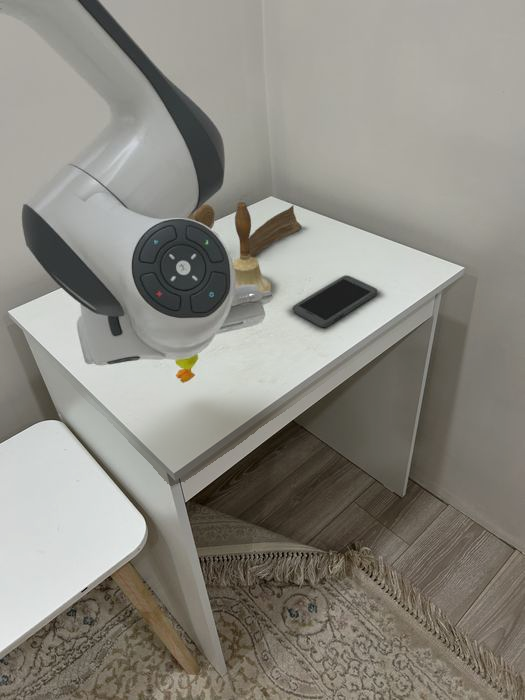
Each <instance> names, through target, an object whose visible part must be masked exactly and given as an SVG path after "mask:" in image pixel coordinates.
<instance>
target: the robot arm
mask: <svg viewBox="0 0 525 700" xmlns="http://www.w3.org/2000/svg"><path fill="white" fill-rule="evenodd" d="M0 14H4V15H6V16H9V17H11V18H14V19H15V20H18V21H20V22H22V23H24V24H25V25H26V26H28V27H29V28H30V29H32V30H33V31H34V32H35V33H36V34H37V35H38V36H39V37H40V38H41V39H42V40H43V41H44V42H45V43H46V44H47V45H48V46H49V47H50V48H51V49H52V50H54V52H55V53H56V54H58V56H59V57H60V58H61V59H62V60H63V61H65V63H66V64H67V65H68V66H69V67H70V68H71V69H72V70H74V72H75V73H76V74H78V75H79V76H80V78H82V79H83V81H84V82H86V84H88V86H89V87H90V88H91V89H93V90H94V91H95V93H97V95H99V96H100V97H101V98H102V100H104V101H105V103H106V104H107V105H108V107H109V112H110V117H109V121H108V123H107V124H106V126H105V127H104V128H103V129H101V130H100V131H99V132H98V133H97V134H96V135H95V136H94V137H93V138H92V139H91V140H90V141H89V142H88V143H87V144H86V145H85V146H84V147H82V149H81V150H80V151H79V152H78V153H76V155H74V157H72V158H71V160H69V161H68V162H67V163H66V164H63V165H62V166H61V167H60V168H59V169H58V170H57V171H55V173H54V174H53V175H51V176H50V177H49V179H48V180H46V181H45V183H44V184H43V185H42V186H40V188H38V189H37V190H36V192H34V194H33V195H31V197H30V198H29V199H28V200H27V201H26V202H25V203H23V204H22V209H21V226H22V231H23V237H24V241H25V245H26V247H27V248H28V250H29V251H30V253H32V255H33V256H34V259H36V260H37V261H38V263H39V265H41V267H42V269H44V271H45V272H46V273H47V274H48V275H49V277H50V278H51V279H52V280H53V281H54V283H56V284H57V285H58V286H59V287H60V288H61V289H62V290H63V291H64V292H66V293H67V294H68V295H69V296H70V297H71V298H73V299H74V300H75V301H76V302H78V303H79V305H80V314H81V315H80V316H79V317H78V318H77V321H76V329H77V334H78V339H79V344H80V348H81V352H82V356H83V359H84V363H85V364H86V365H96V366H100V367H101V366H102V367H103V366H107V365H115V364H121V363H127V362H135V361H139V360H154V361H162V360H165V359H166V360H172V361H173V360H174V361H175V360H179V359H186V358H190V357H192V356H195V355H197V354H200V353H202V352H203V351H204V350H206V349H207V347H208V346H209V345H210V344H211V343H212V342H213V340H214V339H215V337H216V336H217V335H220V334H225V333H228V332H234V331H238V330H242V329H246V328H250V327H251V328H252V327H254V326H257V325H259V324H260V323H261V324H262V323H263V321H264V319H265V317H266V311H265V307H264V306H265V305H267V304H269V303H270V302H271V301H272V300H273V299H274V297H273V296H274V294H273V292H272V290H271V291H266V292H262V293H261V291H259V289H258V287H257V286H256V285H243V286H238V287H236V275H235V269H234V265H233V262H234V261H233V259H232V257H231V254H230V252H229V250H228V248H227V246H226V244H225V243H224V241H223V239H222V238H221V237H220V235H217V234H218V233H217V232H216V233H217V234H216V233H215V231H214V230H213V229H212V228H211V229H210V228H209V227H207V226H206V225H204V224H202V223H200V222H197V221H195V220H191V219H189V218H188V216H189V215H190V214H192V213H194V214H195V213H196V211H197V209H198V208H199V207H200V206H202V205H205V203H206V202H207V201H208V200H210V199H211V198H213V196H214V195H215V194H217V193H218V192H219V191H220V190H221V189H222V187H223V185H224V180H225V179H224V178H225V170H226V169H225V168H226V167H225V166H226V164H225V163H226V156H225V155H226V154H225V145H224V140H223V137H222V135H221V132H220V130H219V129H218V127H217V126H216V124H215V123H214V121H212V119H211V118H210V117H209V116H208V115H207V113H206V112H205V111H204V110H203V109H202V108H201V107H199V106H198V105H197V103H196V102H195V101H193V99H191V98H190V97H189V96H188V95H187V94H186V93H185V92H183V90H182V89H180V88H179V87H178V86H177V85H176V84H175V83H173V81H171V80H170V79H169V78H168V77H167V76H166V75H165V74H164V73H163V72H162V71H161V70H160V68H159V67H157V65H156V64H155V63H154V62H153V61H152V60H151V59H150V57H149V56H148V55H147V54H146V53H145V52H144V50H143V49H142V48H141V47H140V45H138V44H137V42H136V41H135V40H134V39H133V37H131V35H130V34H129V33H128V31H126V30H125V29H124V27H123V26H122V25H121V24H120V23H119V22H118V20H116V18H115V17H114V15H112V14H111V12H109V10H108V9H107V8H106V6H104V5H103V4H102V2H101V1H100V0H0Z"/></svg>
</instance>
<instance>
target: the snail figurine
mask: <svg viewBox="0 0 525 700" xmlns="http://www.w3.org/2000/svg"><path fill="white" fill-rule="evenodd" d="M187 219H191V220H195V221H197V222H200V223H202V224H204V225H206V226H207V227H209V228H210V229H211V230H212V228H213V227H214V226H215V210H214V208H213V207H212V206H211V205H210V204H203V205H202V206H200V207H199V208H198V209H197V210H196V211H195V212H194V213H192V214H190V215H189V216H188V217H187ZM214 232H215V231H214ZM215 233H216V234H217V235H218V233H217V232H215ZM218 236H219V235H218Z"/></svg>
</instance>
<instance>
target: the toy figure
mask: <svg viewBox="0 0 525 700" xmlns="http://www.w3.org/2000/svg"><path fill="white" fill-rule="evenodd" d="M198 354H199V353H198ZM198 354H197V355H195V356H192V357H190V358H186V359H179V360H174V361H175V365H177V366H178V367H180V368H181V369H179V370H178V371H177V373H176V374H175V377H176V378H177V379H178V380H180V382H181V383H188V382H189V381H190V380H191V379H193V378H194V377H195V376H196V374H195V373H194V372H193V371H192V369H193V367H195V364H197V362H198V360H199V355H198Z"/></svg>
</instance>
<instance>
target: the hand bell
mask: <svg viewBox="0 0 525 700" xmlns="http://www.w3.org/2000/svg"><path fill="white" fill-rule="evenodd" d="M234 225H235V231H236V234H237V237H238V240H239V257H238V258H235V260H234V261H232V262H233V265H234V269H235V275H236V287H238V286H243V285H256V286H257V287H258V289H259V291H261V293H262V292H266V291H271V292H272V285H271V283H270V281H269V280H268V279H267V278H265V277H264V275H263V274H262V271H261V267H260V262H259V260H258V259H257V258H255V257H250V247H249V238H250V236H251V232H252V230H251V229H252V217H251V214H250V212H249V209H248V206H247V204H246V202H244V201H241V202H238V203H237V207H236V212H235V216H234Z"/></svg>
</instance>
